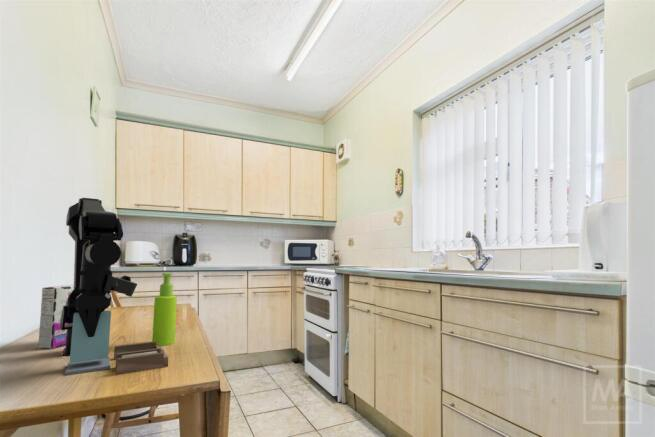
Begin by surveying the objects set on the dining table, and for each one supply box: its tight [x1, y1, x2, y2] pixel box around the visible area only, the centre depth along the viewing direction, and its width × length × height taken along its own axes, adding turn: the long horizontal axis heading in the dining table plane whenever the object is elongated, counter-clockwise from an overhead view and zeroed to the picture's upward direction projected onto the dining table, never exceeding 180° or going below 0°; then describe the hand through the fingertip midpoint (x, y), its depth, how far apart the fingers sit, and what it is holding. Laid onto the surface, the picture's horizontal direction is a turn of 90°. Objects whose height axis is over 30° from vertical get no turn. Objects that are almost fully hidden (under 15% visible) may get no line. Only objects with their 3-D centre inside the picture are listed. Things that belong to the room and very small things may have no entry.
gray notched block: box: [122, 351, 157, 358], centre depth 78 cm, size 2×8×3 cm, turn 123°
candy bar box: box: [38, 284, 74, 350], centre depth 100 cm, size 11×5×16 cm, turn 168°
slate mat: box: [64, 356, 111, 376], centre depth 78 cm, size 8×8×1 cm
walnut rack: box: [113, 341, 169, 375], centre depth 82 cm, size 14×10×3 cm
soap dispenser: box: [151, 272, 178, 347], centre depth 101 cm, size 6×7×20 cm
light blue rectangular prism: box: [69, 310, 112, 363], centre depth 79 cm, size 4×7×10 cm, turn 123°
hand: (91, 335), depth 79 cm, fingers closed on light blue rectangular prism, 4 cm apart
